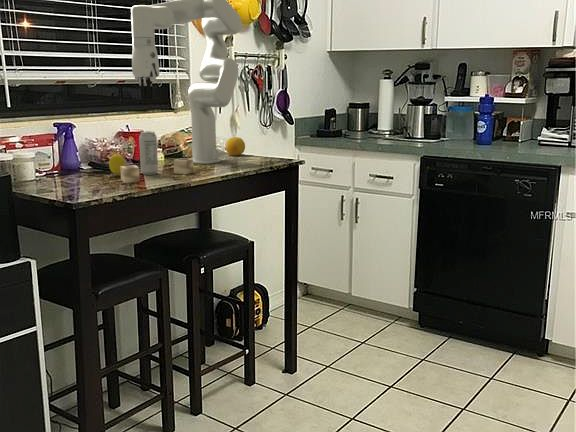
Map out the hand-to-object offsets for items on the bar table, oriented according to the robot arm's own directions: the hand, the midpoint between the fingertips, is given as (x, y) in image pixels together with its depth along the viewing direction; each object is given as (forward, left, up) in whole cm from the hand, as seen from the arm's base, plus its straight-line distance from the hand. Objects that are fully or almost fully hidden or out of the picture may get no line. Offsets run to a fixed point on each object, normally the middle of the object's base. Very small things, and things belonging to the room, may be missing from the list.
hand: (146, 97), depth 219 cm
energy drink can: (0, 0, -27) cm, 27 cm away
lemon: (+10, -5, -27) cm, 30 cm away
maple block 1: (+13, +7, -27) cm, 31 cm away
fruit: (-53, -11, -27) cm, 61 cm away
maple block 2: (-10, +7, -27) cm, 30 cm away
